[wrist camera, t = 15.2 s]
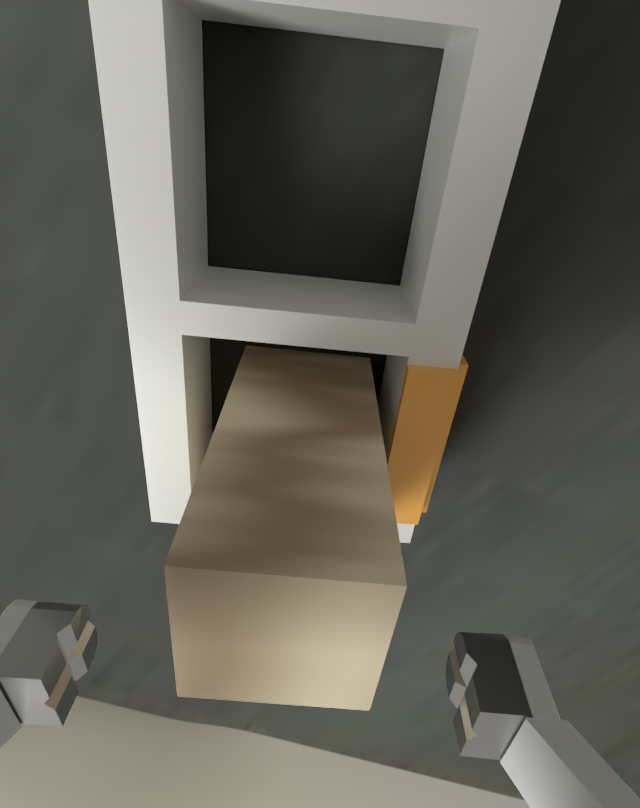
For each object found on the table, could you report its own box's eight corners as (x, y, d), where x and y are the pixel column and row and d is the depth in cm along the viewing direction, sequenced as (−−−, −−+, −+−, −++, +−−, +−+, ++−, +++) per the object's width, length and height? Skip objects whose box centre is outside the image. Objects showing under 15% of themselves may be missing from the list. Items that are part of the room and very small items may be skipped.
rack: (661, -532, 8) (870, -943, 5) (407, 481, 21) (421, 550, 17) (96, -625, 8) (-61, -1125, 5) (178, 461, 20) (148, 527, 17)
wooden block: (369, 357, 18) (407, 586, 9) (353, 456, 20) (369, 710, 11) (245, 345, 17) (163, 565, 9) (243, 445, 20) (177, 696, 11)
